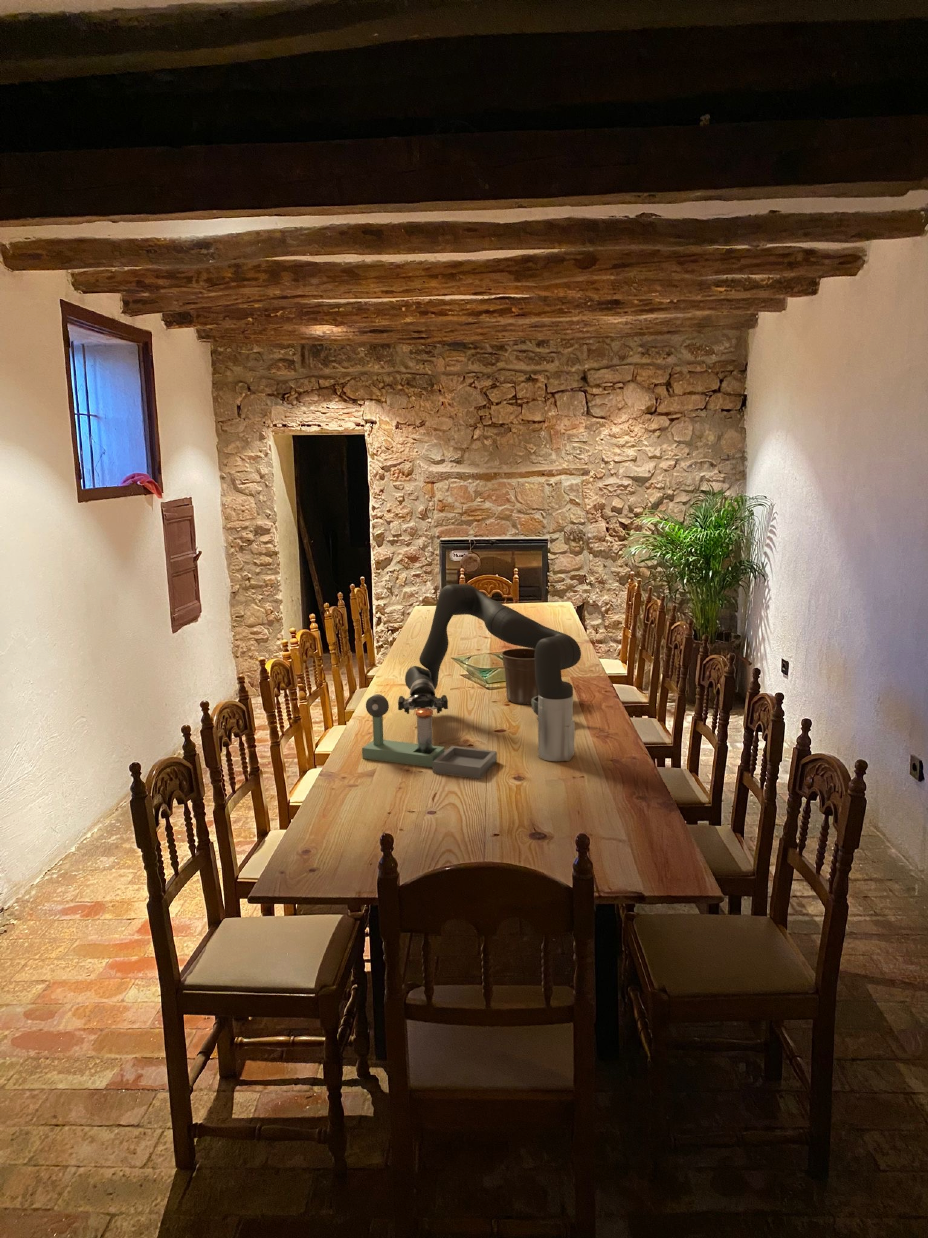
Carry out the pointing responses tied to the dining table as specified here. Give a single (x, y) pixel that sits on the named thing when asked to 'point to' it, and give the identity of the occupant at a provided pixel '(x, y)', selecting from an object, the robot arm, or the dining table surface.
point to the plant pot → (520, 675)
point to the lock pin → (424, 730)
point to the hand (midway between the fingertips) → (423, 710)
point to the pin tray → (465, 762)
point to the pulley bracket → (393, 749)
